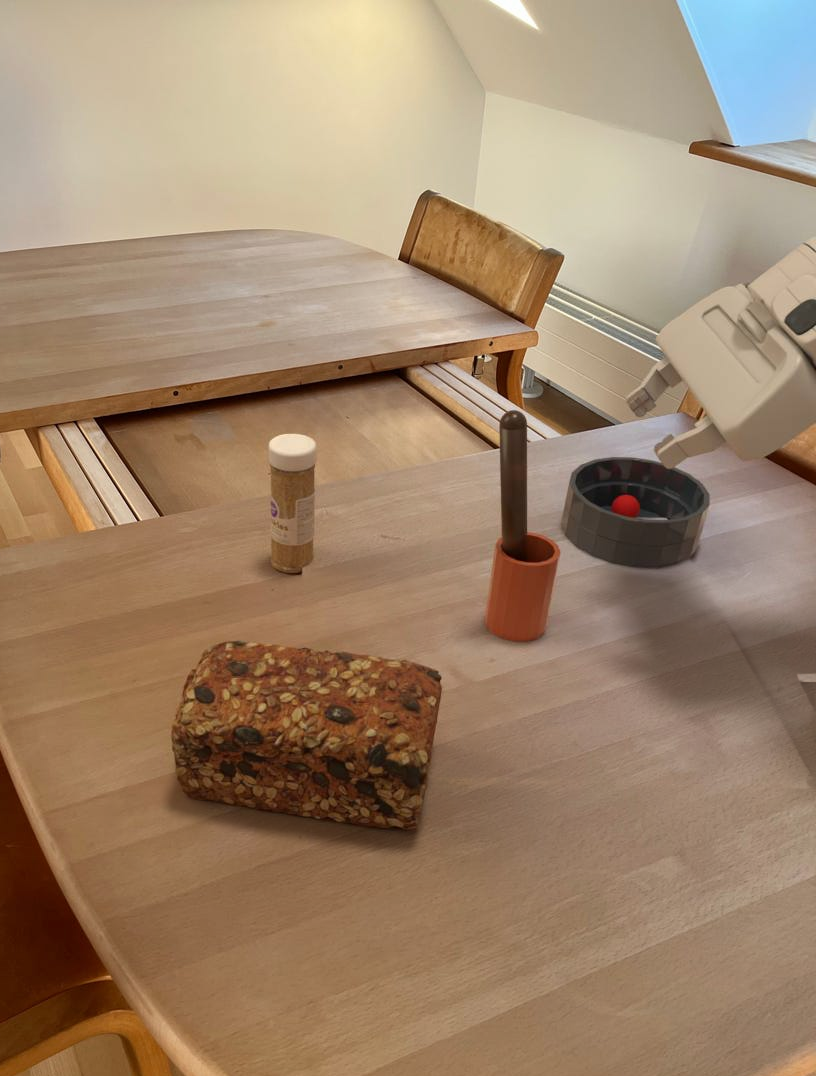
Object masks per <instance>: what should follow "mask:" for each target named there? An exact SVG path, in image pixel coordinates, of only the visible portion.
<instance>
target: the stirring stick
mask: <svg viewBox="0 0 816 1076" xmlns="http://www.w3.org/2000/svg"><path fill="white" fill-rule="evenodd" d="M498 424H499V425H498V426H499V427H498V428H499V471H500V472H499V473H500V475H499V476H500V477H499V478H500V479H499V480H500V524H501V525H500V527H501V528H500V529H501V530H500V531H501V537H502V551H503V552H504V553H505V554H506V555H507V556H509V557H511V558H513V559H515V560H518V561H522V562H527V532H528V420H527V417H526V416H525V414H524V413H523V412H521V411H520V410H517V409H511V410H508V411H506V412H505V413H504V414H503V415H502V416H501V417H500V419H499V423H498Z"/></svg>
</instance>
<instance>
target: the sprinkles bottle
mask: <svg viewBox="0 0 816 1076" xmlns="http://www.w3.org/2000/svg"><path fill="white" fill-rule="evenodd" d="M317 447H318V446H317V443H316V441H315V440H314V439H313V438H312V437H310V436H308V435H304V434H300V433H284V434H279V435H277V436H274V437H273V438H272V439H271V440H270V441H269V443H268V449H267V452H268V454H267V457H268V463H269V466H270V540H271V542H270V543H271V544H270V545H271V552H270V553H271V554H270V556H269V557H270V558H269V559H270V560H269V561H270V564H271V566H272V567H273V568H274V569H275V570H276V571H279V572H282V573H286V574H298V573H302V572H303V568H304V567H306V566H308V565H310V564H311V563H312V562H313V560H314V537H315V516H316V515H315V512H316V511H315V505H316V504H315V503H316V489H315V468H316V463H317V459H318V457H317V456H318V455H317V454H318V453H317V452H318V451H317V449H318V448H317Z"/></svg>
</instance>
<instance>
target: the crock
mask: <svg viewBox="0 0 816 1076" xmlns="http://www.w3.org/2000/svg"><path fill="white" fill-rule="evenodd" d="M560 557H561V549H560V547H559V545H558V544H557V543H556V542H555V541H554V540H553V539H551V538H549V537H547V536H545V535H543V534H540V533H536V532H530V531H527V562H522V561H518V560H515V559H513V558H511V557H509V556H507V555H506V554H505V553H504V552H503V551H502V536H500V537H499V538H498V539H497V541H496V543H495V546H494V552H493V560H492V565H491V572H490V580H489V586H488V593H487V600H486V609H485V614H484V624H485V626H486V628H487V629H488V631H490V633H492V634H493V635H494V636H496V637H498V638H500V639H502V640H506V641H510V642H518V643H523V642H525V643H526V642H531V641H534V640H537V639H538V638H540V637H542V636H543V634H544V633H545V631H546V629H547V625H548V620H549V614H550V609H551V603H552V600H553V599H552V598H553V594H554V588H555V584H556V578H557V573H558V567H559V562H560Z"/></svg>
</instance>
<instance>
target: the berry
mask: <svg viewBox="0 0 816 1076" xmlns="http://www.w3.org/2000/svg"><path fill="white" fill-rule="evenodd" d="M639 511H640V505H639V502H638V501H637V499H636V498H634V497H633V496H630V495H622V496H619V497H618V498H616V499H615V500H614V502H613V503H612V506H611V512H613V513H616V514H619V515H622V516H626V517H632V518H636V517H637V516H638V514H639Z"/></svg>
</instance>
